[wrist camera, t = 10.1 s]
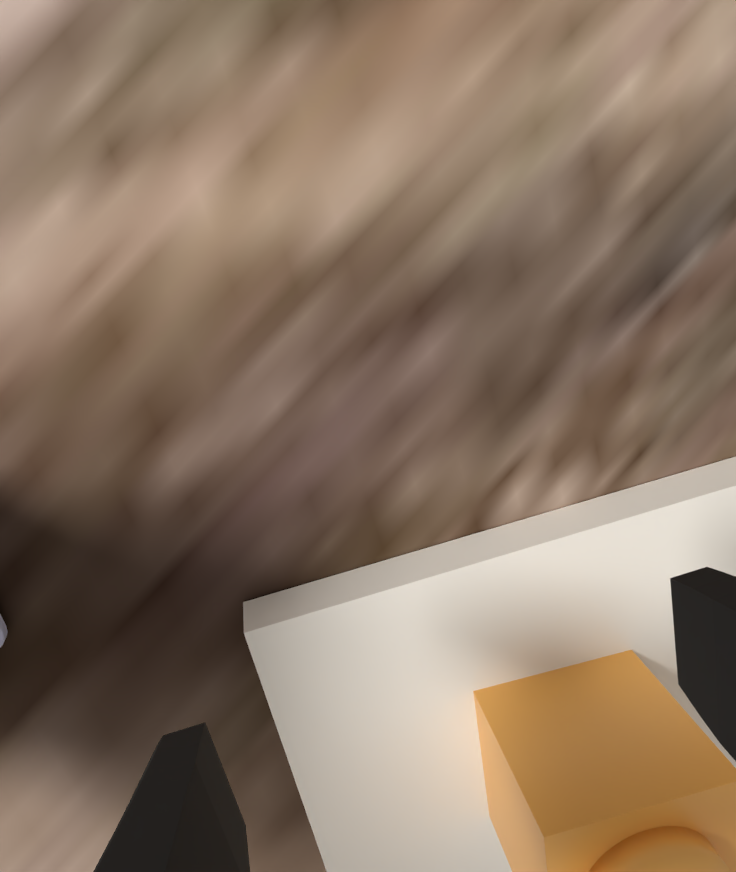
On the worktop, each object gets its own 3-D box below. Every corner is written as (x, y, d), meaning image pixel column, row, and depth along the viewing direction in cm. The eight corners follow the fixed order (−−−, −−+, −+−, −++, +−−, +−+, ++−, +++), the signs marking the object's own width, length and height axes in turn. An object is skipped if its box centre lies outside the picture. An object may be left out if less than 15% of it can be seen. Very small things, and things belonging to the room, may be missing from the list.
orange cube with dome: (489, 816, 22) (571, 1016, 17) (473, 691, 20) (559, 869, 15) (635, 774, 23) (760, 955, 17) (631, 649, 21) (769, 806, 16)
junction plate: (353, 926, 25) (381, 1096, 20) (243, 602, 20) (245, 726, 15) (761, 786, 26) (875, 913, 22) (754, 451, 21) (899, 522, 17)
